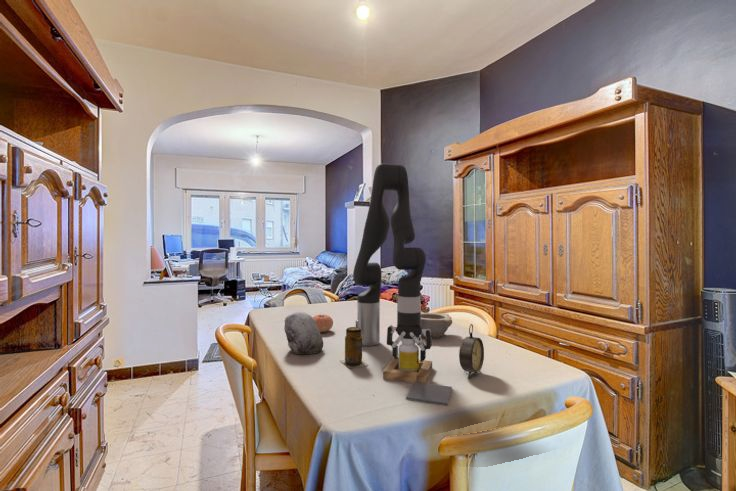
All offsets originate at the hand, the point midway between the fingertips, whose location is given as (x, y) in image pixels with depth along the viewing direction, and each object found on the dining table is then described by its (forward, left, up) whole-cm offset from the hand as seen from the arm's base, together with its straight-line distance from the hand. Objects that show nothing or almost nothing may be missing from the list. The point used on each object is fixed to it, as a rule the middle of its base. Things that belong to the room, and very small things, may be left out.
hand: (408, 359), depth 118 cm
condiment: (-20, +3, -5) cm, 21 cm away
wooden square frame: (0, 0, -5) cm, 5 cm away
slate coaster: (+9, -13, -4) cm, 16 cm away
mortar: (0, +47, -5) cm, 47 cm away
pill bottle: (0, 0, -5) cm, 5 cm away
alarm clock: (+19, +6, -5) cm, 20 cm away
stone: (-43, +9, -5) cm, 44 cm away
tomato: (-50, +37, -5) cm, 62 cm away
